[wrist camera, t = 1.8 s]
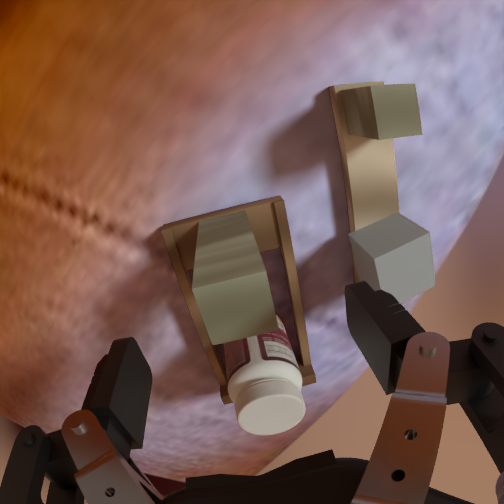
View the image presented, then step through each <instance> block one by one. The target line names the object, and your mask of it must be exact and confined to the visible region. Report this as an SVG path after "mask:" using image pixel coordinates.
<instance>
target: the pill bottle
mask: <svg viewBox="0 0 504 504" xmlns="http://www.w3.org/2000/svg"><path fill="white" fill-rule="evenodd" d="M276 318H277V323H278V327H279V330H276V331H272V332H268V333H264V334H260V335H256V336H252V337H248V338H243V339H239V340H235V341H230V342H226V343H224V352H225V363H226V375H227V388H228V393H229V397H230V399H231V400H232V402H233V403H234V404H235V410H236V416H237V421H238V424H239V426H240V427H241V428H242V429H243V430H245V431H247V432H249V433H252V434H256V435H272V434H277V433H281V432H284V431H286V430H288V429H290V428H292V427H294V426H295V425H297V424H298V423H299V422H300V421H301V419H302V418H303V416H304V414H305V404H304V400H303V397H302V394H301V392H300V391H301V388H302V375H301V372H300V370H299V367H298V364H297V361H296V359H295V356H294V353H293V350H292V347H291V344H290V341H289V338H288V335H287V333H286V330H285V327H284V324H283V322H282V320H281V319H280V318H279V317H278V316H277V315H276Z"/></svg>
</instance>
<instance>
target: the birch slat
mask: <svg viewBox="0 0 504 504" xmlns="http://www.w3.org/2000/svg"><path fill="white" fill-rule="evenodd" d="M329 92H330V97H331V102H332V107H333V113H334V118H335V124H336V129H337V135H338V141H339V147H340V154H341V160H342V167H343V174H344V181H345V189H346V197H347V205H348V214H349V224H350V233H351V232H354V231H356V230H358V229H360V228H363V227H365V226H367V225H370V224H372V223H374V222H376V221H379V220H381V219H383V218H385V217H388V216H390V215H392V214H394V213H397V212H398V213H399V204H398V189H397V176H396V165H395V155H394V146H393V138H398V137H405V136H413V135H422V129H421V120H420V113H419V106H418V99H417V93H416V87H415V84H393V85H384V82H368V83H355V84H344V85H335V86H330V87H329ZM352 256H353V269H354V283H357V282H361V281H360V277H359V273H358V269H357V265H356V262H355V258H354V254H353V250H352Z"/></svg>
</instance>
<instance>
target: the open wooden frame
mask: <svg viewBox="0 0 504 504" xmlns="http://www.w3.org/2000/svg"><path fill="white" fill-rule="evenodd" d="M161 233H162V236H163V239H164V242H165V245H166V248H167V251H168V253H169V256H170V259H171V262H172V265H173V268H174V271H175V273H176V276H177V279H178V282H179V285H180V287H181V290H182V293H183V295H184V298H185V301H186V303H187V306H188V309H189V311H190V314H191V317H192V319H193V322H194V324H195V327H196V329H197V332H198V334H199V337H200V340H201V342H202V344H203V347H204V349H205V352H206V354H207V357H208V359H209V361H210V364H211V366H212V369H213V371H214V373H215V376H216V378H217V380H218V383H219V385H220V395H221V399H222V401H223V403H224V404H228V403H233V402H232V400H231V399H230V397H229V393H228V388H227V375H226V372H225V370H224V367H223V365H222V362H221V360H220V357H219V354H218V352H217V349H216V347H215V345H217V344H222V343H226V342H230V341H235V340H239V339H243V338H248V337H252V336H256V335H260V334H264V333H268V332H272V331H276V330H279V327H278V323H277V318H276V314H275V309H274V305H273V300H272V295H271V291H270V286H269V282H268V277H267V273H266V269H265V266H264V263H263V261H262V258H261V255H260V252H264V251H268V250H272V249H276V248H280V247H281V252H282V258H283V263H284V268H285V273H286V279H287V284H288V289H289V295H290V300H291V305H292V311H293V316H294V322H295V328H296V333H297V339H298V345H299V350H300V356H301V357H297V358H295V359H296V361H297V364H298V367H299V370H300V372H301V375H302V386H305V385H309V384H312V383H316V377H315V373H314V370H313V367H312V365H311V359H310V352H309V345H308V339H307V332H306V325H305V319H304V313H303V306H302V300H301V294H300V288H299V282H298V276H297V270H296V264H295V259H294V253H293V247H292V242H291V236H290V231H289V225H288V220H287V214H286V209H285V204H284V200H283V199H282V197H281V196H275V197H271V198H267V199H262V200H258V201H254V202H250V203H246V204H242V205H238V206H233V207H229V208H225V209H221V210H217V211H213V212H210V213H206V214H202V215H198V216H194V217H190V218H186V219H183V220H179V221H175V222H171V223H168V224H164V225H163V227H162V230H161ZM191 269H194V272H193V282H192V280H191V277H190V274H189V271H188V270H191Z"/></svg>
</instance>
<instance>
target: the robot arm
mask: <svg viewBox="0 0 504 504" xmlns="http://www.w3.org/2000/svg"><path fill="white" fill-rule="evenodd" d="M345 301H346V314H347V324H348V328H349V331H350V333H351V335H352V337H353V339H354V340H355V342H356V344H357V345H358V347H359V349H360V350H361V352H362V354H363V355H364V357H365V359H366V361H367V362H368V364H369V366H370V367H371V369H372V371H373V372H374V374H375V375H376V378H377V379H378V381H379V383H380V384H381V386H382V388H383V390H384V391H385V393H386V395H388V394H391V393H392V396H391V400H390V403H389V406H388V409H387V412H386V416H385V418H384V422H383V424H382V428H381V430H380V433H379V436H378V439H377V442H376V445H375V447H374V450H373V452H372V455H371V458H370V460H369V461H368V460H363V459H358V458H335V456H334V453H333V451H332V450H328V451H325V452H321V453H318V454H314V455H311V456H307V457H303V458H299V459H296V460H293V461H291V462H289V463H287V464H285V465H283V466H281V467H279V468H276V469H274V470H272V471H269V472H268V473H265V474H263V475H259V476H246V475H228V474H216V475H208V476H199V477H189V478H186V488H183V489H180V490H178V491H176V492H174V493H172V494H170V495H168V496H167V497H166V498H164V497H163V496H162V495H161V494H160V493H159V492H158V491H157V490H156V489H155V487H154V486H153V485H152V484H151V482H150V481H149V480H148V479H147V477H146V476H145V475H144V473H143V472H142V471H141V469H140V468H139V467H138V466H137V464H136V463H135V461H134V460H133V459H132V458H131V457H130V451H131V449H142V447H143V439H144V432H145V425H146V418H147V411H148V405H149V399H150V392H151V386H152V373H151V369H150V367H149V365H148V363H147V361H146V359H145V357H144V355H143V354H142V352H141V350H140V348H139V346H138V344H137V342H136V340H135V339H134V338H133V337H129V338H123V339H118V340H114V341H113V343H112V345H111V348H110V351H109V354H107V355H105V356H104V357H103V358H102V359H101V360H100V362H99V363H98V364H97V367H96V369H95V372H94V376H93V377H92V380H91V384H90V386H89V388H88V391H87V394H86V397H85V400H84V403H83V406H82V409H81V410H79V411H76V412H74V413H72V414H71V415H69V416H68V417H67V418H66V419H65V421H64V423H63V425H62V429H61V430H58V431H55V432H51V433H48V434H46V433H45V432H44V431H43V430H42V429H41V428H40V427H39V426H36V425H31V426H28V427H26V428H24V429H23V430H22V431H21V432H20V433H19V434H18V436H17V437H16V439H15V442H14V445H13V448H12V451H11V454H10V457H9V460H8V463H7V466H6V469H5V473H4V476H3V479H2V483H1V486H0V504H44V503H43V502H42V499H41V489H42V485H43V480H44V476H45V477H46V478H47V479H48V480H50V486H49V490H48V495H47V501H46V504H84V498H85V499H86V501H87V503H88V504H474V503H471V502H468V501H465V500H462V499H460V498H457V497H454V496H451V495H448V494H446V493H444V492H441V491H438V490H436V489H433V488H431V487H429V485H430V481H431V477H432V474H433V470H434V465H435V462H436V457H437V453H438V448H439V444H440V439H441V434H442V428H443V422H444V417H445V410H446V405H449V404H455V403H459V404H460V405H461V407H462V408H463V410H464V412H465V413H466V415H467V416H468V418H469V420H470V421H471V423H472V425H473V426H474V428H475V430H476V431H477V433H478V435H479V436H480V438H481V439H482V441H483V443H484V445H485V447H486V448H487V450H488V452H489V454H490V455H491V457H492V459H493V461H494V462H495V464H496V466H497V468H498V470H499V472H500V474H501V475H500V476H499V478H498V480H497V483H496V495H497V499H498V504H504V327H503V326H501V325H499V324H496V323H482V324H480V325H478V326H476V327H475V328H474V330H473V332H472V336H471V338H470V339H465V340H458V341H451V342H448V340H447V339H446V338H445V337H444V336H442V335H440V334H438V333H434V332H426V331H425V330H424V329H423V328H422V327H421V326H420V325H419V324H418V322H417V321H416V320H415V319H414V318H413V317H412V316H411V315H410V314H409V312H408V311H407V310H405V308H404V307H403V306H402V305H401V304H399V302H398V300H397V299H396V298H395V297H394V296H393V295H392V294H390V293H388V292H385V291H383V290H381V289H380V290H377V291H374V290H373V289H372V288H371V286H370V285H369V284H368V283H367V282H366V281H361V282H357V283H354V284H351V285H347V286H345Z"/></svg>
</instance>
